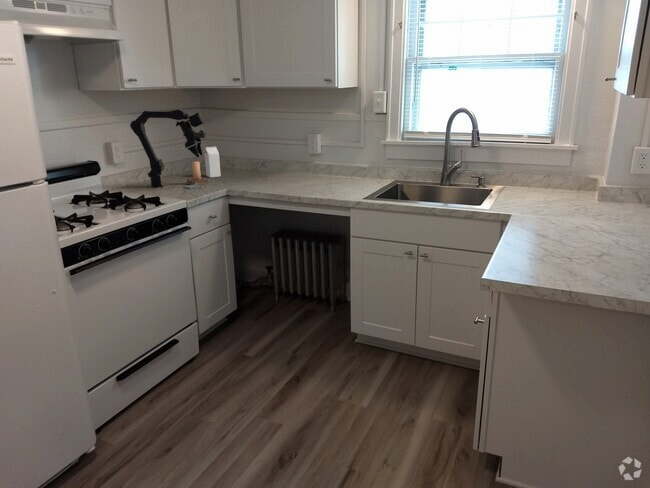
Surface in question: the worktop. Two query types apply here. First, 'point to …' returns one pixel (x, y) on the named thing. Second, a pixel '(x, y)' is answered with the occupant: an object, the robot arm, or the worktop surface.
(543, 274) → the worktop surface
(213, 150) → the milk carton
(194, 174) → the peach rounded cylinder
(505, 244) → the worktop surface
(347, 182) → the worktop surface
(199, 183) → the walnut socket block
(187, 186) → the slate rubber pad
